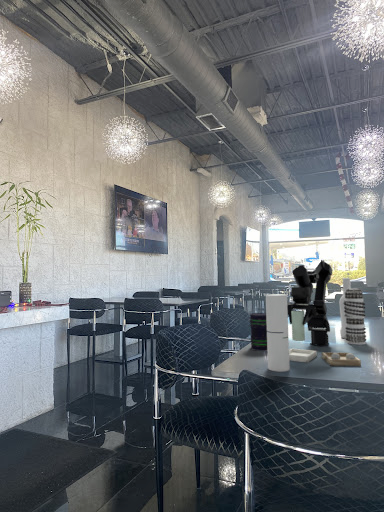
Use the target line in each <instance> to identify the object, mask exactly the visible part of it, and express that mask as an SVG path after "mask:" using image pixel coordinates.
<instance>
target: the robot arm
mask: <svg viewBox="0 0 384 512" xmlns="http://www.w3.org/2000/svg"><path fill="white" fill-rule="evenodd" d="M332 275H333V269H332V266H331V264H329V263H327V262H325V260H324V259H313V260H312V261H311V263H310V265H309V266H308V267H307V268H306V267H305V265H304V264H300V265H298V266H297V267H295V268H294V269H293V270H292V276H293V279H294V281H295V284H296V285H297V286H298V287H297V286H296V287H295V286H293V287H291V290H290V291H291V292H290V297H292V302H291V301H288V300H287V311H288V322H289V324H290V325H292V315H291V311H304V319H303V325H304V326H305V325H306V324H307V325H306V326H307V330H308V331H309V332H310V340H311V341H310V342H309V345H312V346H319V347H324V346H325V347H326V346H328V345H330V343H329V334H328V333H329V332H331V326H330V323H329V320H328V317H327V313H328V310H327V309H328V308H327V305H326V294H327V293H326V292H327V285H328V283H329V282H330V281H331V277H332ZM314 284H315V291H314ZM313 292H314V299H313V303H312V304H311V302H312V299H311V298H312V294H313Z"/></svg>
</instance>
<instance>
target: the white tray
mask: <svg viewBox="0 0 384 512" xmlns="http://www.w3.org/2000/svg"><path fill="white" fill-rule="evenodd" d="M317 356H318V355H317V350H313V349H312V350H311V349H302V348H301V349H299V348H289V362H290V361H292V362H300V363H307V364H308V363H310V362H311V361H313V360H314V359H316V358H317Z"/></svg>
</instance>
